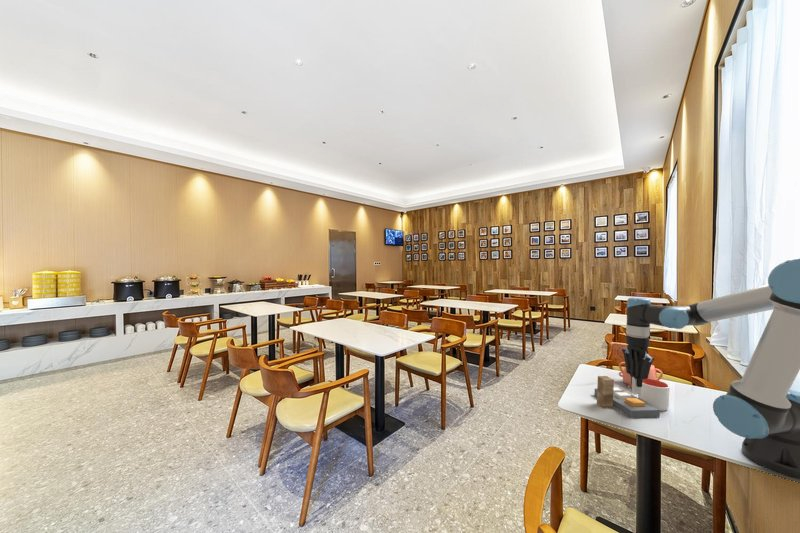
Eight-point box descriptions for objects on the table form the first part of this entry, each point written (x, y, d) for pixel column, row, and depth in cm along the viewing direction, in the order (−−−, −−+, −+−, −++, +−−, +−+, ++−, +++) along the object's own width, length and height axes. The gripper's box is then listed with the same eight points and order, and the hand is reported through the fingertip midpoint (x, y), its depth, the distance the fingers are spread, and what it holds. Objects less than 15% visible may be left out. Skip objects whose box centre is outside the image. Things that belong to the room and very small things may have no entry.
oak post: (612, 408, 127) (613, 379, 126) (603, 408, 126) (604, 379, 126) (605, 403, 131) (606, 376, 130) (596, 403, 130) (597, 376, 130)
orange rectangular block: (644, 410, 122) (645, 402, 122) (633, 411, 122) (633, 402, 122) (636, 405, 126) (636, 398, 126) (624, 406, 126) (625, 398, 126)
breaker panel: (659, 417, 120) (660, 406, 120) (631, 418, 119) (631, 406, 119) (619, 394, 140) (619, 384, 140) (594, 395, 139) (594, 385, 139)
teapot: (635, 393, 141) (637, 366, 141) (612, 379, 158) (613, 355, 157) (669, 394, 141) (670, 367, 140) (641, 380, 157) (642, 355, 157)
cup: (674, 413, 123) (675, 389, 123) (646, 410, 125) (647, 386, 125) (658, 401, 133) (659, 379, 133) (633, 399, 135) (633, 377, 135)
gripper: (661, 339, 117) (659, 400, 117) (632, 332, 130) (631, 386, 130) (643, 340, 117) (641, 401, 117) (616, 332, 130) (615, 387, 130)
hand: (636, 393), depth 124 cm, fingers closed
